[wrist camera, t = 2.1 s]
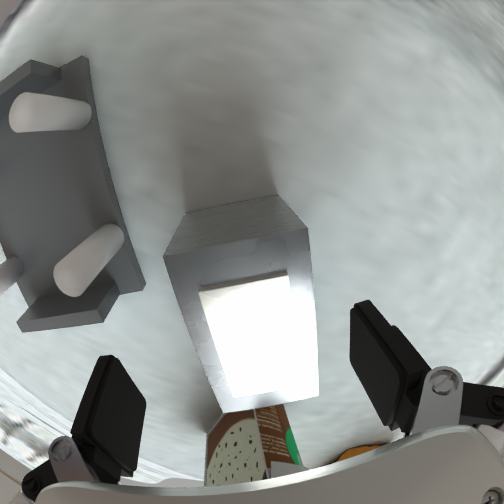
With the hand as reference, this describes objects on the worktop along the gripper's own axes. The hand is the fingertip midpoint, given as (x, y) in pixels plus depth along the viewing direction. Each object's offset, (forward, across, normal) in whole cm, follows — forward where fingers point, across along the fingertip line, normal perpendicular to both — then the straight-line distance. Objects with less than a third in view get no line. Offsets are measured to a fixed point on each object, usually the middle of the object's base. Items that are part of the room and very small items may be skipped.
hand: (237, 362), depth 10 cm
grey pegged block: (+7, +10, -8) cm, 15 cm away
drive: (+7, -1, 0) cm, 7 cm away
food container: (+7, +1, +14) cm, 16 cm away
